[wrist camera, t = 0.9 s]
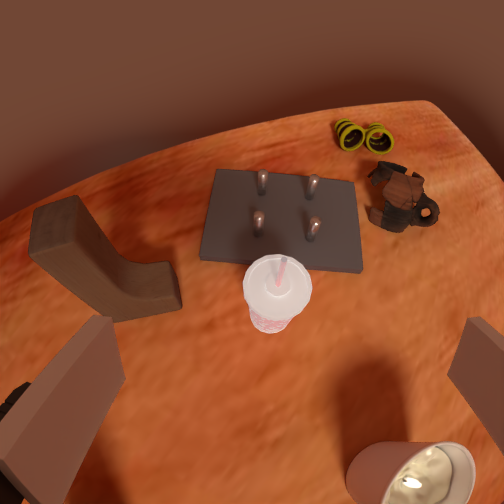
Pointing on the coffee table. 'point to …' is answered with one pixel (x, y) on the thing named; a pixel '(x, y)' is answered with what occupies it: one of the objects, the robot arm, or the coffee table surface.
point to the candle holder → (412, 473)
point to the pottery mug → (401, 199)
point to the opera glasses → (363, 136)
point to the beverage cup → (276, 291)
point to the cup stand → (283, 220)
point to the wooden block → (98, 264)
